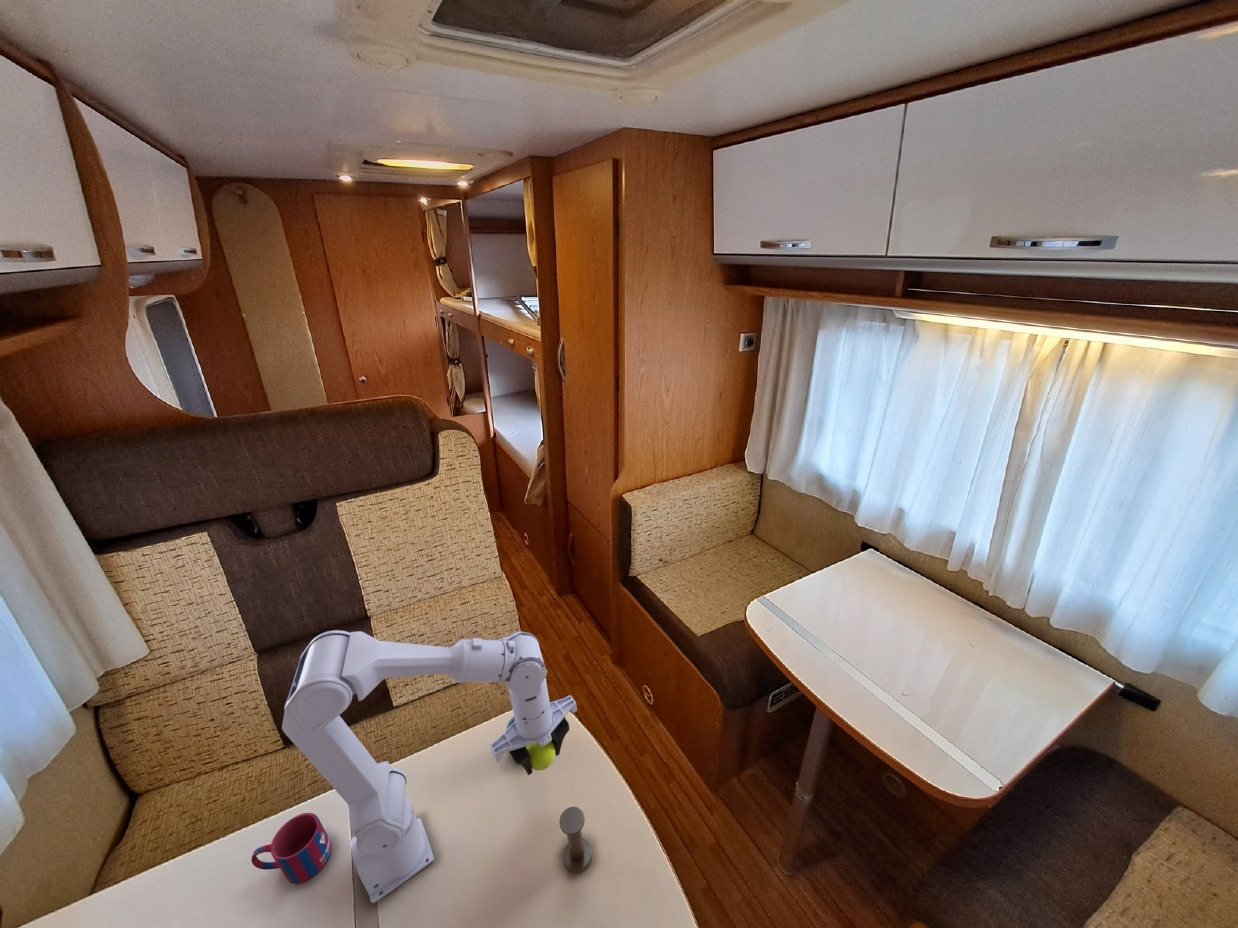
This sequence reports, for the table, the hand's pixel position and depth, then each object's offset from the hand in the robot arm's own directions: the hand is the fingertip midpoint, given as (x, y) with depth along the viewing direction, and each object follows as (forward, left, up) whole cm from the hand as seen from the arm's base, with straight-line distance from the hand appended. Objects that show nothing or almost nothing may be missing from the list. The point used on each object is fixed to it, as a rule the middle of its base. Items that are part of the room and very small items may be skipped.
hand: (541, 759), depth 82 cm
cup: (-37, +17, -11) cm, 42 cm away
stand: (-1, -11, -10) cm, 15 cm away
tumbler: (+1, +11, -10) cm, 15 cm away
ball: (0, 0, -1) cm, 1 cm away
